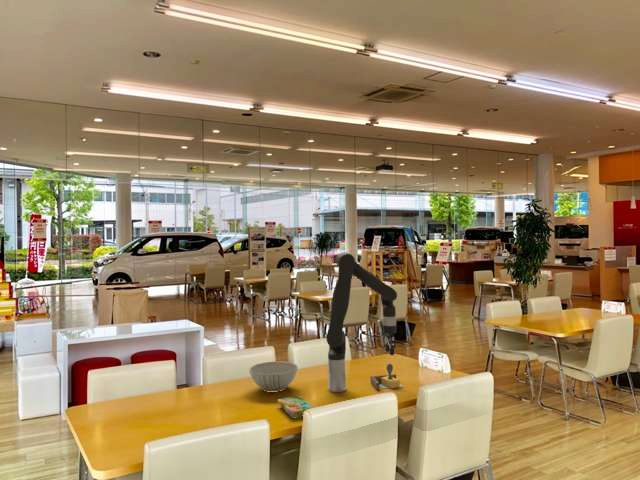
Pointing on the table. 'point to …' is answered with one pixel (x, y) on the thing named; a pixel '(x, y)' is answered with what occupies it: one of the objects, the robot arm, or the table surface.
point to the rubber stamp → (390, 379)
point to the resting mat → (387, 387)
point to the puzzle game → (294, 406)
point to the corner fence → (378, 380)
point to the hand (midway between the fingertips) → (389, 353)
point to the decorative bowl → (273, 375)
